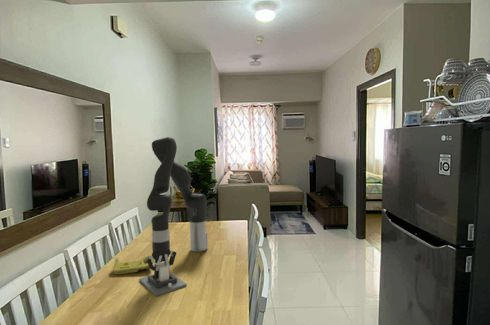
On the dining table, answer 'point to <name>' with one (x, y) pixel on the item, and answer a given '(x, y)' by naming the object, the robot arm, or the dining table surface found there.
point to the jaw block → (163, 272)
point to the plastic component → (130, 265)
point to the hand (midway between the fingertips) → (162, 276)
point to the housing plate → (162, 284)
